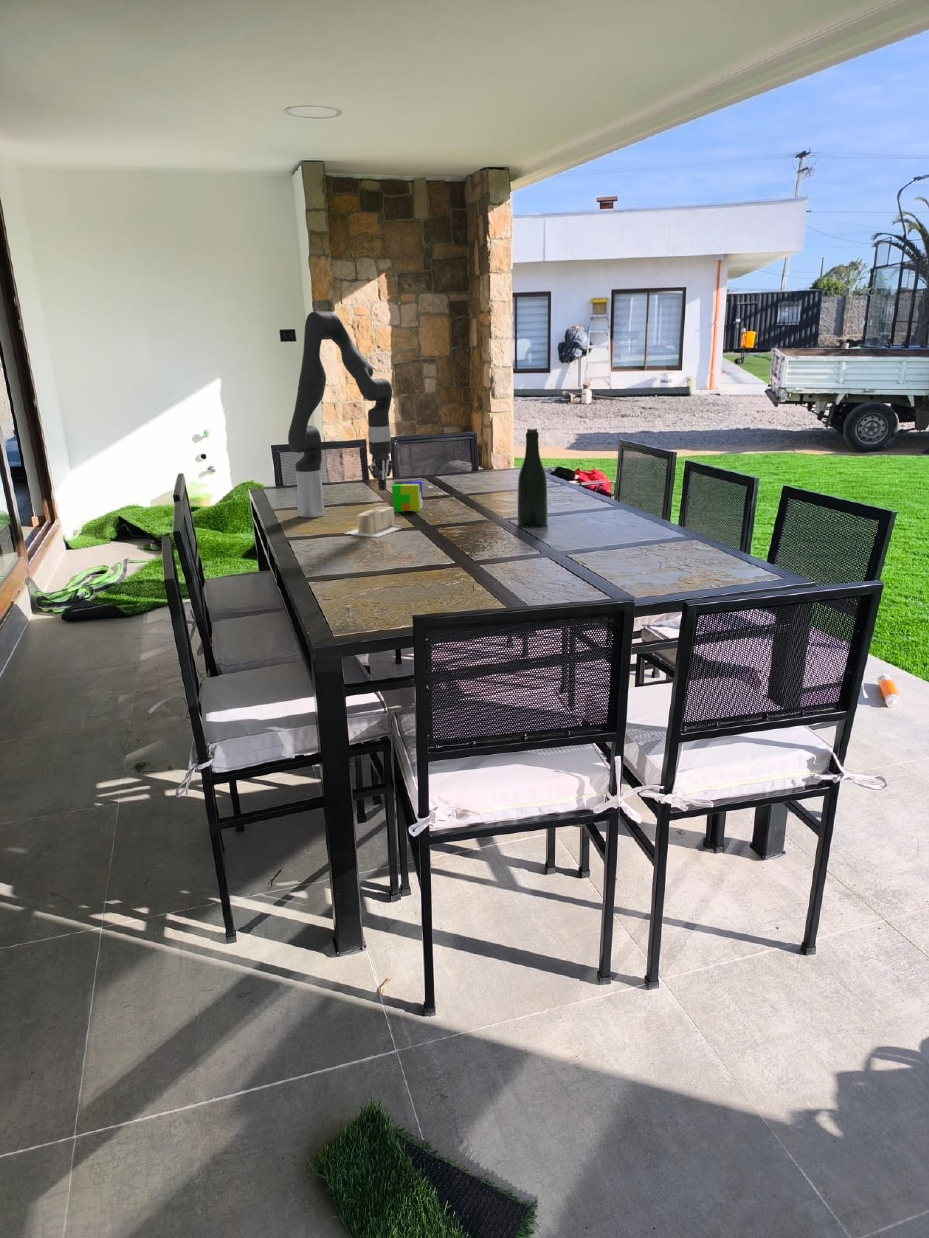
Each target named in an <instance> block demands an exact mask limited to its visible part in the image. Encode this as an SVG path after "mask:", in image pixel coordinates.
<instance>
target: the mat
mask: <svg viewBox="0 0 929 1238" xmlns="http://www.w3.org/2000/svg"><path fill="white" fill-rule="evenodd" d="M400 530H403V525H396V524H394V525H391V526H389V527H387V528H385V529H382V530H380V531H378V532H375V533H373V534H370V533H360V532H358V528H356V529H355V528H354V529H352V530H349V531H346V532H343V533H344V535H349V534H351V535H352V536H360V537H371V538H380V537H384V536H386V535H388V534H391V533H394V532H396V531H400Z"/></svg>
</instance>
